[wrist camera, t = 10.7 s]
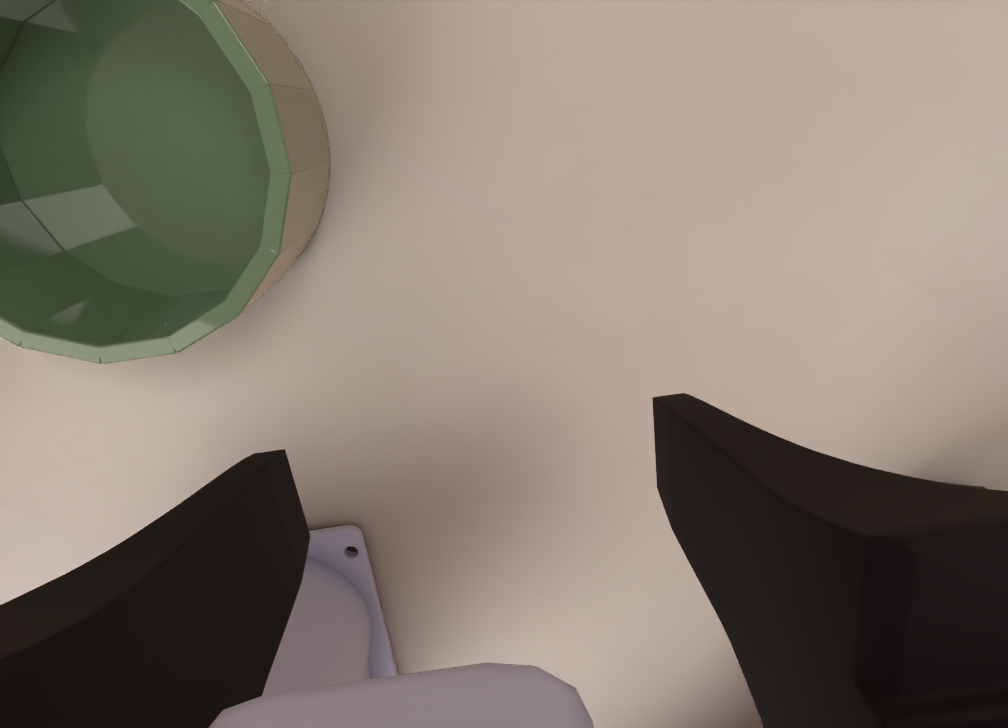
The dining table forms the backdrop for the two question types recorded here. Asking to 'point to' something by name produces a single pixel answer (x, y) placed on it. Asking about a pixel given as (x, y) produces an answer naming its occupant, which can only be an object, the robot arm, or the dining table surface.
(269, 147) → the sage cup
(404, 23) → the dining table surface
